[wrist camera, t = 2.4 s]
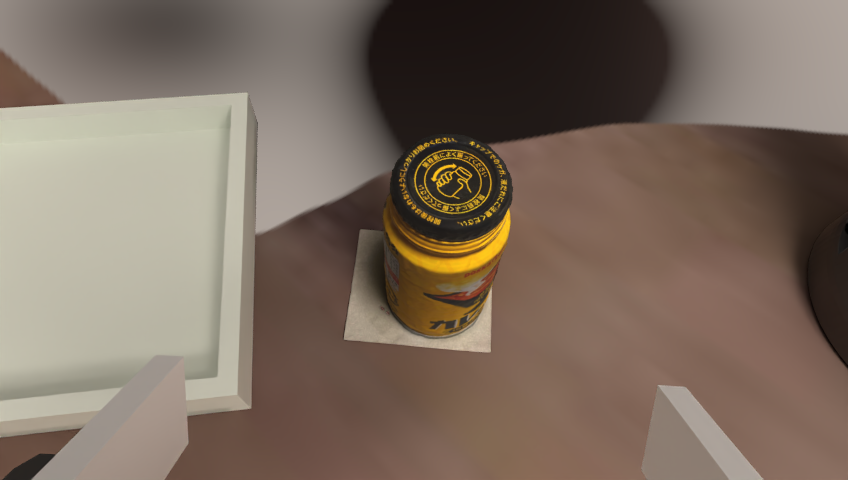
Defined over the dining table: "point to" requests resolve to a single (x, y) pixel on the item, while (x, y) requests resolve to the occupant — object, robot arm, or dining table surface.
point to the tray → (125, 253)
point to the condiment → (434, 249)
